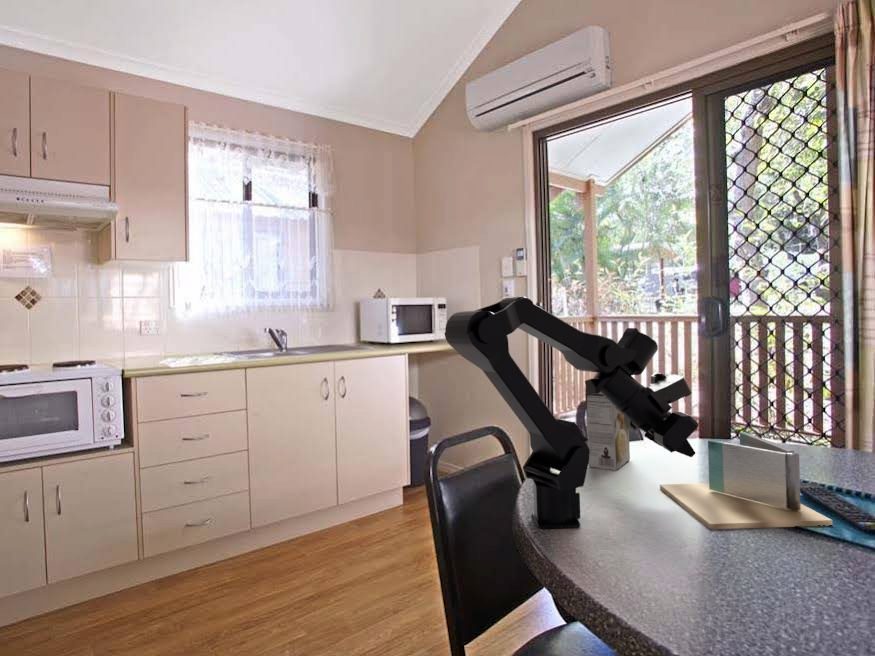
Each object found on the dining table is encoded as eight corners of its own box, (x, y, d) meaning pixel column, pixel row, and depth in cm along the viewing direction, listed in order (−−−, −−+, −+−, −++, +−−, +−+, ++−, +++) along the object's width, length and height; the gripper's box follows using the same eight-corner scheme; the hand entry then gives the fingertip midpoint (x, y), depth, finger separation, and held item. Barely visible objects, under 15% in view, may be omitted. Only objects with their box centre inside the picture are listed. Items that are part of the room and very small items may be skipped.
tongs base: (710, 529, 76) (708, 464, 76) (658, 487, 95) (656, 435, 95) (832, 525, 76) (830, 460, 75) (755, 484, 95) (754, 431, 94)
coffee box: (602, 456, 117) (599, 386, 116) (630, 460, 113) (628, 388, 113) (587, 466, 109) (584, 392, 109) (617, 471, 106) (614, 394, 105)
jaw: (796, 511, 78) (795, 456, 78) (709, 489, 89) (707, 440, 89) (802, 508, 79) (801, 453, 79) (716, 486, 91) (714, 438, 90)
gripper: (683, 365, 79) (757, 433, 79) (638, 356, 98) (698, 411, 98) (634, 417, 79) (707, 485, 79) (598, 398, 98) (658, 453, 98)
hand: (692, 454), depth 88 cm, fingers closed
